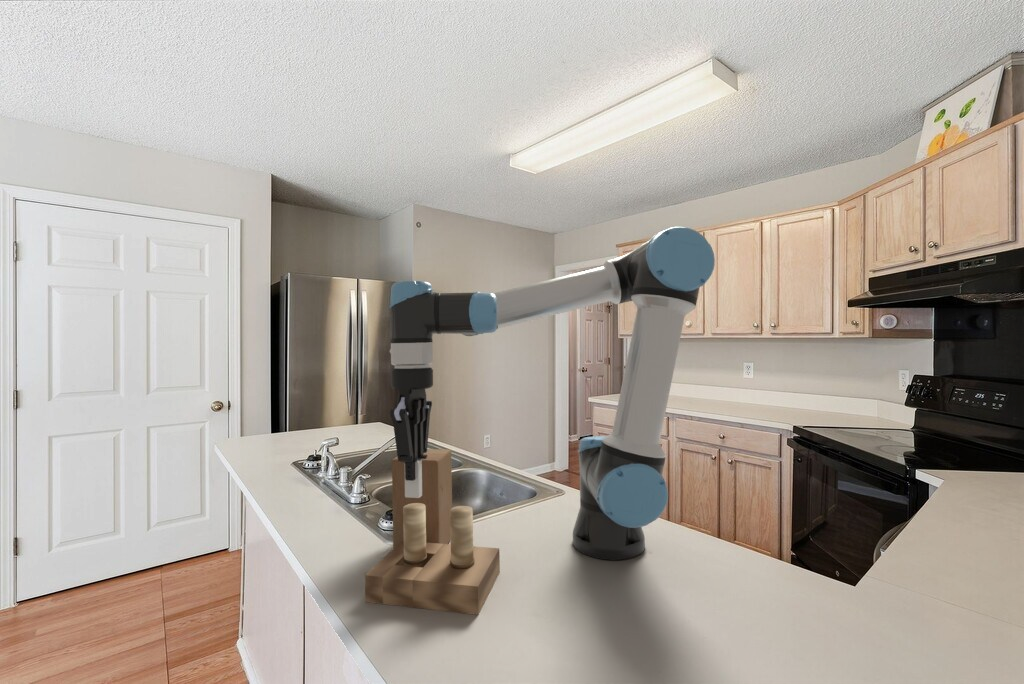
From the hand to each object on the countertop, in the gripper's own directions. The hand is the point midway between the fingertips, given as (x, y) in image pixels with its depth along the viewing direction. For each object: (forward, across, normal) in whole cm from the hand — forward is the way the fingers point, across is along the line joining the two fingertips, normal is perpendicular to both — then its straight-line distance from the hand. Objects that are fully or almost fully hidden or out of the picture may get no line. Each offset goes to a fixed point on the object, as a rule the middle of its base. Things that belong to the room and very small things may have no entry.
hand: (413, 496), depth 83 cm
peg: (+16, 0, 0) cm, 16 cm away
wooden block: (+16, -15, -5) cm, 23 cm away
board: (+16, 0, +4) cm, 16 cm away
